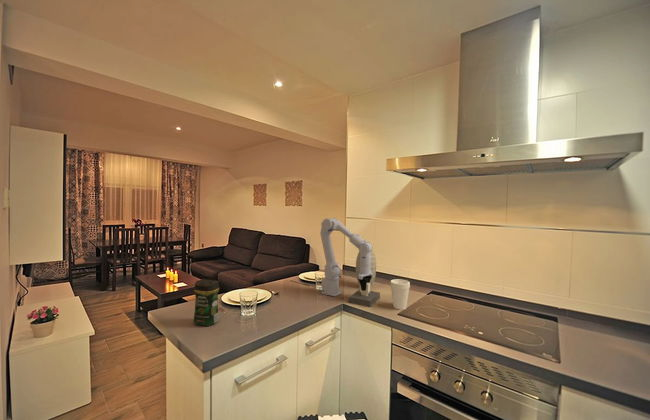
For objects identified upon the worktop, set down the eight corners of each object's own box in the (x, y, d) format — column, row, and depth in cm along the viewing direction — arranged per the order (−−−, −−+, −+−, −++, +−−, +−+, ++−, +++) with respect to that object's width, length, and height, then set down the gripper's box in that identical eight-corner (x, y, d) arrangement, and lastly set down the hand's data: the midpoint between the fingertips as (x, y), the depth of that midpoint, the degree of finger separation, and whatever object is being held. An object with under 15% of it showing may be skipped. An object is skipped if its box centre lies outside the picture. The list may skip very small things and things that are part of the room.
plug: (359, 297, 146) (359, 283, 145) (361, 296, 149) (362, 281, 148) (367, 299, 143) (368, 284, 143) (370, 297, 146) (370, 283, 146)
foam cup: (402, 312, 130) (402, 285, 130) (386, 306, 137) (387, 281, 137) (412, 307, 136) (413, 282, 136) (397, 302, 143) (398, 278, 143)
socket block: (348, 302, 142) (348, 296, 142) (360, 294, 156) (360, 289, 156) (370, 306, 136) (370, 301, 136) (380, 297, 150) (380, 292, 150)
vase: (352, 285, 173) (353, 241, 173) (370, 283, 177) (370, 241, 177) (360, 291, 161) (361, 244, 161) (379, 289, 165) (380, 244, 164)
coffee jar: (190, 325, 112) (190, 281, 112) (203, 317, 120) (203, 276, 120) (209, 328, 110) (210, 283, 110) (221, 320, 118) (222, 278, 117)
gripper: (367, 268, 137) (367, 294, 138) (376, 263, 150) (376, 287, 150) (354, 266, 141) (354, 292, 141) (364, 261, 153) (364, 285, 154)
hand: (364, 289), depth 146 cm, fingers closed on plug, 3 cm apart
